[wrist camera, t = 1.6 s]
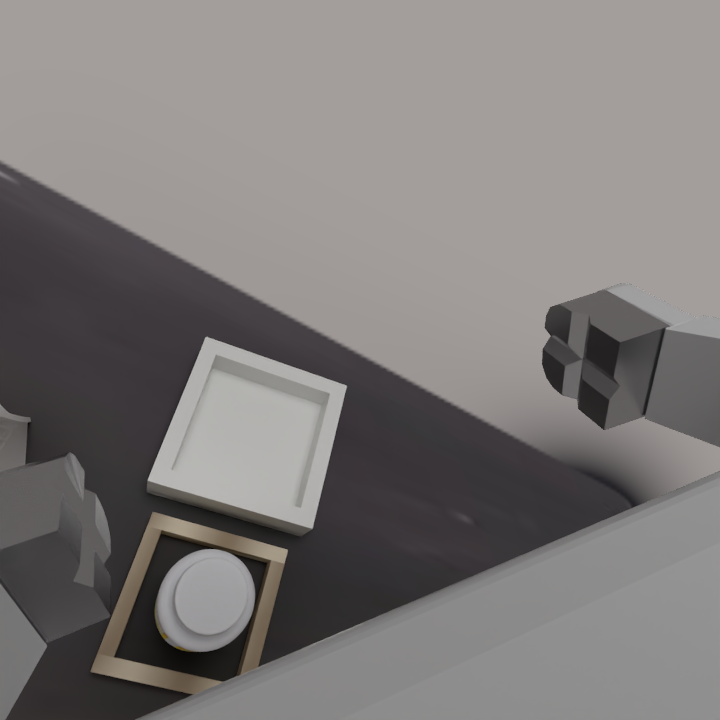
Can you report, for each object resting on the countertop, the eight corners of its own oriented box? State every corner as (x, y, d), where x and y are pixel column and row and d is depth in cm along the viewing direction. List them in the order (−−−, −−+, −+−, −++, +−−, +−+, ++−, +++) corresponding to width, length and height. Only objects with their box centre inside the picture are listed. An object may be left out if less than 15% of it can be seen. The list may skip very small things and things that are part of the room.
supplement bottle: (252, 602, 41) (283, 591, 32) (193, 670, 38) (210, 677, 29) (198, 547, 41) (214, 521, 32) (135, 610, 38) (135, 599, 29)
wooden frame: (92, 670, 36) (90, 671, 34) (152, 516, 41) (152, 511, 39) (243, 704, 38) (247, 706, 36) (283, 553, 43) (288, 550, 41)
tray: (146, 492, 41) (147, 480, 38) (201, 355, 47) (206, 336, 44) (300, 536, 44) (312, 528, 41) (334, 401, 50) (346, 385, 47)
